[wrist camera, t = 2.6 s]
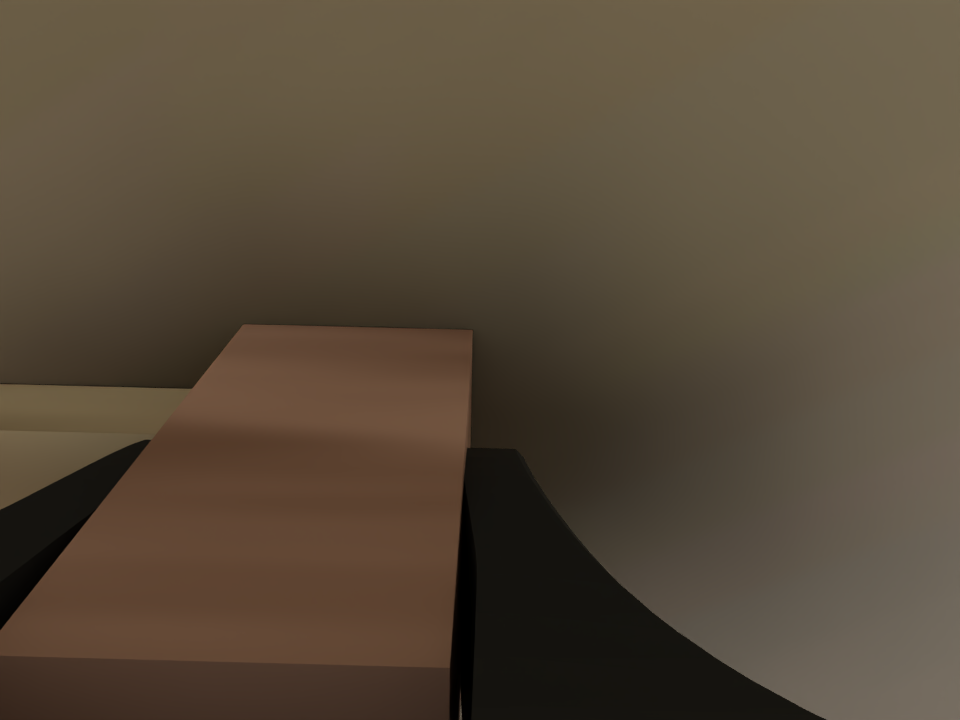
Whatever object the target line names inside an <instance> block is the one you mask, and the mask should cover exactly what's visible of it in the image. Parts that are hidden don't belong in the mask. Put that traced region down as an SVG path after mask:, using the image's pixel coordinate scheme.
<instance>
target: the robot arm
mask: <svg viewBox="0 0 960 720" xmlns="http://www.w3.org/2000/svg"><path fill="white" fill-rule="evenodd" d="M150 441H151V440H146V439H145V440H143V441H140V442H137V443H134V444H131V445H129V446H127V447H124V448H122V449H120V450H118V451H115V452H113V453H111V454H109V455H107V456H105V457H103V458H101V459H99V460H97V461H95V462H93V463H91V464H89V465H87V466H85V467H83V468H81V469H79V470H77V471H75V472H74V473H72V474H70V475H68V476H66V477H64V478H62V479H60V480H58V481H56V482H54V483H52V484H50V485H48V486H46V487H44V488H42V489H40V490H38V491H36V492H35V493H33V494H31V495H29V496H27V497H25V498H23V499H21V500H19V501H17V502H15V503H13V504H11V505H9V506H7V507H5V508H3V509H1V510H0V630H1V629H2V628H3V626H4V625H5V624H6V623H7V621H8V620H9V619H10V618H11V616H12V615H13V614H14V612H15V611H16V610H17V609H18V607H19V606H20V605H21V604H22V602H23V601H24V600H25V599H26V597H27V596H28V595H29V594H30V592H31V591H32V590H33V589H34V587H35V586H36V585H37V584H38V582H39V581H40V580H41V578H42V577H43V576H44V575H45V573H46V572H47V571H48V570H49V568H50V567H51V566H52V565H53V563H54V562H55V561H56V560H57V558H58V557H59V556H60V555H61V553H62V552H63V551H64V550H65V548H66V547H67V546H68V544H69V543H70V542H71V541H72V539H73V538H74V537H75V536H76V534H77V533H78V532H79V531H80V529H81V528H82V527H83V526H84V524H85V523H86V522H87V521H88V519H89V518H90V517H91V515H92V514H93V513H94V512H95V510H96V509H97V508H98V507H99V505H100V504H101V503H102V502H103V500H104V499H105V498H106V497H107V495H108V494H109V493H110V492H111V490H112V489H113V488H114V487H115V485H116V484H117V483H118V481H119V480H120V479H121V478H122V476H123V475H124V474H125V473H126V471H127V470H128V469H129V468H130V466H131V465H132V464H133V463H134V461H135V460H136V459H137V458H138V456H139V455H140V454H141V452H142V451H143V450H144V449H145V447H146V446H147V445H148V444H149V442H150ZM460 690H461V706H462V720H826V719H824V718H822V717H819V716H817V715H815V714H813V713H811V712H809V711H807V710H805V709H803V708H801V707H799V706H798V705H796V704H794V703H792V702H790V701H788V700H787V699H785V698H783V697H781V696H779V695H777V694H776V693H774V692H772V691H770V690H768V689H767V688H765V687H763V686H761V685H759V684H757V683H756V682H754V681H752V680H750V679H749V678H747V677H745V676H744V675H742V674H740V673H739V672H737V671H736V670H734V669H732V668H731V667H729V666H727V665H726V664H724V663H722V662H721V661H719V660H718V659H716V658H715V657H713V656H712V655H710V654H709V653H707V652H706V651H705V650H703V649H702V648H700V647H699V646H697V645H696V644H694V643H693V642H692V641H690V640H689V639H687V638H686V637H684V636H683V635H681V634H680V633H679V632H677V631H676V630H674V629H673V628H672V627H670V626H669V625H668V624H667V623H665V622H664V621H663V620H661V619H660V618H659V617H657V616H656V615H655V614H654V613H652V612H651V611H650V610H649V609H648V608H647V607H645V606H644V605H643V604H642V603H641V602H640V601H639V600H637V599H636V598H635V597H634V596H633V595H632V594H630V593H629V592H628V591H627V590H626V589H625V588H623V587H622V586H621V585H620V584H619V583H618V582H617V581H616V580H615V579H614V578H613V577H612V576H611V575H610V574H609V573H608V572H607V571H606V570H605V569H604V568H603V566H602V565H601V564H600V563H599V562H598V561H597V560H596V559H595V558H594V557H593V556H592V554H591V553H590V552H589V551H588V550H587V549H586V548H585V546H584V545H583V544H582V543H581V542H580V540H579V539H578V538H577V537H576V536H575V534H574V533H573V532H572V530H571V529H570V528H569V527H568V525H567V524H566V523H565V521H564V520H563V519H562V517H561V516H560V515H559V514H558V512H557V511H556V510H555V508H554V507H553V505H552V504H551V503H550V501H549V500H548V498H547V497H546V495H545V494H544V492H543V491H542V489H541V488H540V486H539V485H538V483H537V481H536V480H535V478H534V476H533V475H532V473H531V471H530V469H529V468H528V466H527V464H526V462H525V459H524V458H523V457H522V456H521V455H520V453H519V452H518V451H517V450H516V449H490V448H467V453H466V461H465V472H464V504H463V565H462V626H461V687H460Z"/></svg>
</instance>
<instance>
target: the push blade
mask: <svg viewBox="0 0 960 720" xmlns="http://www.w3.org/2000/svg"><path fill="white" fill-rule="evenodd" d="M472 344H473V330H459V329H418V328H378V327H337V326H296V325H256V324H243V325H242V326H241V328H240V329H239V330H238V332H237V333H236V334H235V335H234V337H233V338H232V339H231V340H230V342H229V343H228V344H227V345H226V347H225V348H224V349H223V350H222V352H221V353H220V354H219V355H218V357H217V358H216V359H215V361H214V362H213V363H212V364H211V366H210V367H209V368H208V369H207V371H206V372H205V373H204V374H203V376H202V377H201V378H200V379H199V381H198V382H197V383H196V384H195V386H194V387H193V388H192V389H177V388H138V387H98V386H58V385H18V384H0V510H1V509H3V508H5V507H7V506H9V505H11V504H13V503H15V502H17V501H19V500H21V499H23V498H25V497H27V496H29V495H31V494H33V493H35V492H36V491H38V490H40V489H42V488H44V487H46V486H48V485H50V484H52V483H54V482H56V481H58V480H60V479H62V478H64V477H66V476H68V475H70V474H72V473H74V472H75V471H77V470H79V469H81V468H83V467H85V466H87V465H89V464H91V463H93V462H95V461H97V460H99V459H101V458H103V457H105V456H107V455H109V454H111V453H113V452H115V451H118V450H120V449H122V448H124V447H127V446H129V445H131V444H134V443H137V442H140V441H143V440H145V439H146V440H151V441H150V442H149V444H148V445H147V446H146V447H145V449H144V450H143V451H142V452H141V454H140V455H139V456H138V458H137V459H136V460H135V461H134V463H133V464H132V465H131V466H130V468H129V469H128V470H127V471H126V473H125V474H124V475H123V476H122V478H121V479H120V480H119V481H118V483H117V484H116V485H115V487H114V488H113V489H112V490H111V492H110V493H109V494H108V495H107V497H106V498H105V499H104V500H103V502H102V503H101V504H100V505H99V507H98V508H97V509H96V510H95V512H94V513H93V514H92V515H91V517H90V518H89V519H88V521H87V522H86V523H85V524H84V526H83V527H82V528H81V529H80V531H79V532H78V533H77V534H76V536H75V537H74V538H73V539H72V541H71V542H70V543H69V544H68V546H67V547H66V548H65V550H64V551H63V552H62V553H61V555H60V556H59V557H58V558H57V560H56V561H55V562H54V563H53V565H52V566H51V567H50V568H49V570H48V571H47V572H46V573H45V575H44V576H43V577H42V578H41V580H40V581H39V582H38V584H37V585H36V586H35V587H34V589H33V590H32V591H31V592H30V594H29V595H28V596H27V597H26V599H25V600H24V601H23V602H22V604H21V605H20V606H19V607H18V609H17V610H16V611H15V612H14V614H13V615H12V616H11V618H10V619H9V620H8V621H7V623H6V624H5V625H4V626H3V628H2V629H1V630H0V720H460V701H461V690H460V687H461V626H462V565H463V504H464V472H465V461H466V453H467V448H471V396H472Z"/></svg>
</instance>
